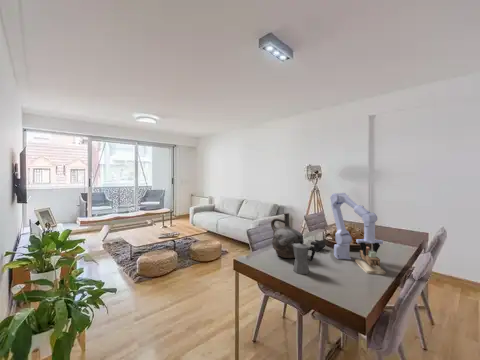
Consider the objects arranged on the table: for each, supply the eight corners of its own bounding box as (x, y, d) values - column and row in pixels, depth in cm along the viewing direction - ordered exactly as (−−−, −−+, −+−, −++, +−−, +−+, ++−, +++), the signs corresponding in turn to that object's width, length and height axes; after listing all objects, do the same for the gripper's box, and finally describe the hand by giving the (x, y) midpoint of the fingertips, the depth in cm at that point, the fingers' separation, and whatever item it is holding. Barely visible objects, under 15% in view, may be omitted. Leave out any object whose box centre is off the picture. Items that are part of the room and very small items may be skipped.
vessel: (263, 257, 155) (263, 214, 155) (274, 248, 175) (274, 209, 174) (299, 264, 144) (299, 217, 143) (306, 253, 163) (307, 212, 162)
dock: (366, 273, 130) (366, 270, 130) (355, 261, 148) (355, 259, 148) (385, 274, 129) (385, 271, 129) (371, 262, 147) (371, 259, 147)
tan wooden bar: (380, 266, 130) (380, 259, 130) (370, 265, 131) (370, 258, 131) (368, 256, 146) (368, 250, 146) (359, 256, 147) (359, 250, 147)
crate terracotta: (364, 252, 141) (364, 247, 141) (362, 251, 144) (362, 246, 144) (369, 252, 141) (369, 248, 141) (367, 251, 144) (367, 246, 144)
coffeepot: (286, 269, 135) (287, 239, 135) (295, 265, 142) (295, 236, 141) (310, 278, 124) (310, 245, 124) (319, 273, 131) (319, 242, 130)
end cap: (319, 252, 165) (319, 243, 165) (310, 250, 171) (310, 241, 171) (325, 249, 172) (325, 240, 172) (316, 247, 177) (316, 238, 177)
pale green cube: (370, 257, 133) (370, 252, 133) (368, 255, 136) (368, 250, 136) (376, 257, 133) (376, 252, 133) (373, 255, 136) (373, 250, 136)
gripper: (359, 234, 135) (359, 256, 135) (385, 235, 133) (385, 258, 134) (355, 231, 142) (354, 252, 142) (379, 232, 140) (379, 253, 141)
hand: (369, 255), depth 138 cm, fingers closed on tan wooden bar, 5 cm apart
